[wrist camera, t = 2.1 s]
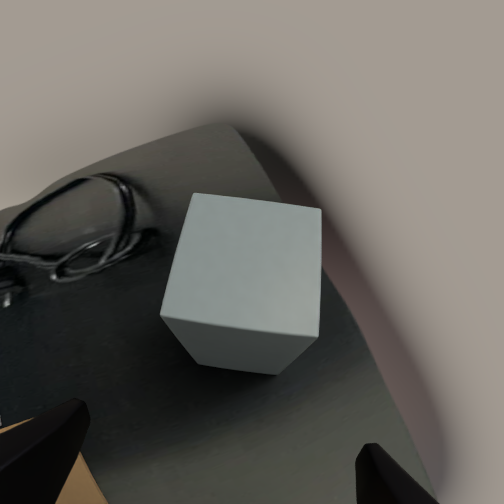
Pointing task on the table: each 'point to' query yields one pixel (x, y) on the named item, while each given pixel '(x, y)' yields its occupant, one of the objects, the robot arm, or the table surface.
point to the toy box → (245, 283)
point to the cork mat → (77, 483)
